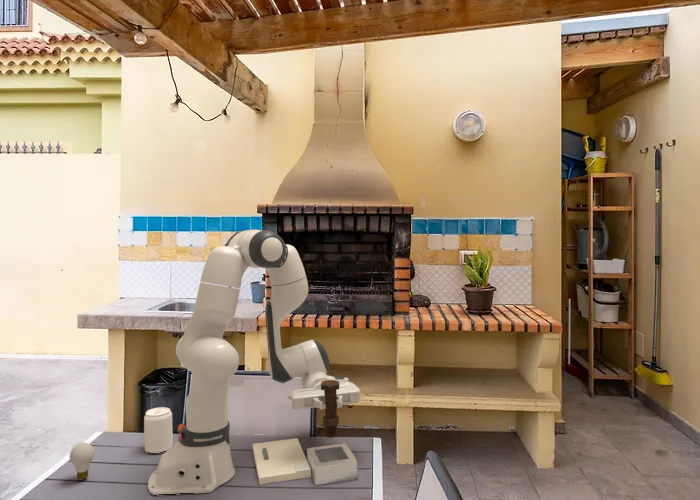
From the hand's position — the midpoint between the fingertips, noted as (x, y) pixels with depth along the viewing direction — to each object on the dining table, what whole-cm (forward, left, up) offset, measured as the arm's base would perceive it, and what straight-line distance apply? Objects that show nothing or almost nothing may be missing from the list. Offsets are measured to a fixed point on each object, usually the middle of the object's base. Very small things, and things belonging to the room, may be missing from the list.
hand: (331, 406), depth 132 cm
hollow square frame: (0, +1, -19) cm, 19 cm away
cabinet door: (-13, +11, -19) cm, 25 cm away
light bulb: (-66, +17, -19) cm, 71 cm away
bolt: (0, +1, -9) cm, 9 cm away
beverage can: (-48, +31, -19) cm, 60 cm away
